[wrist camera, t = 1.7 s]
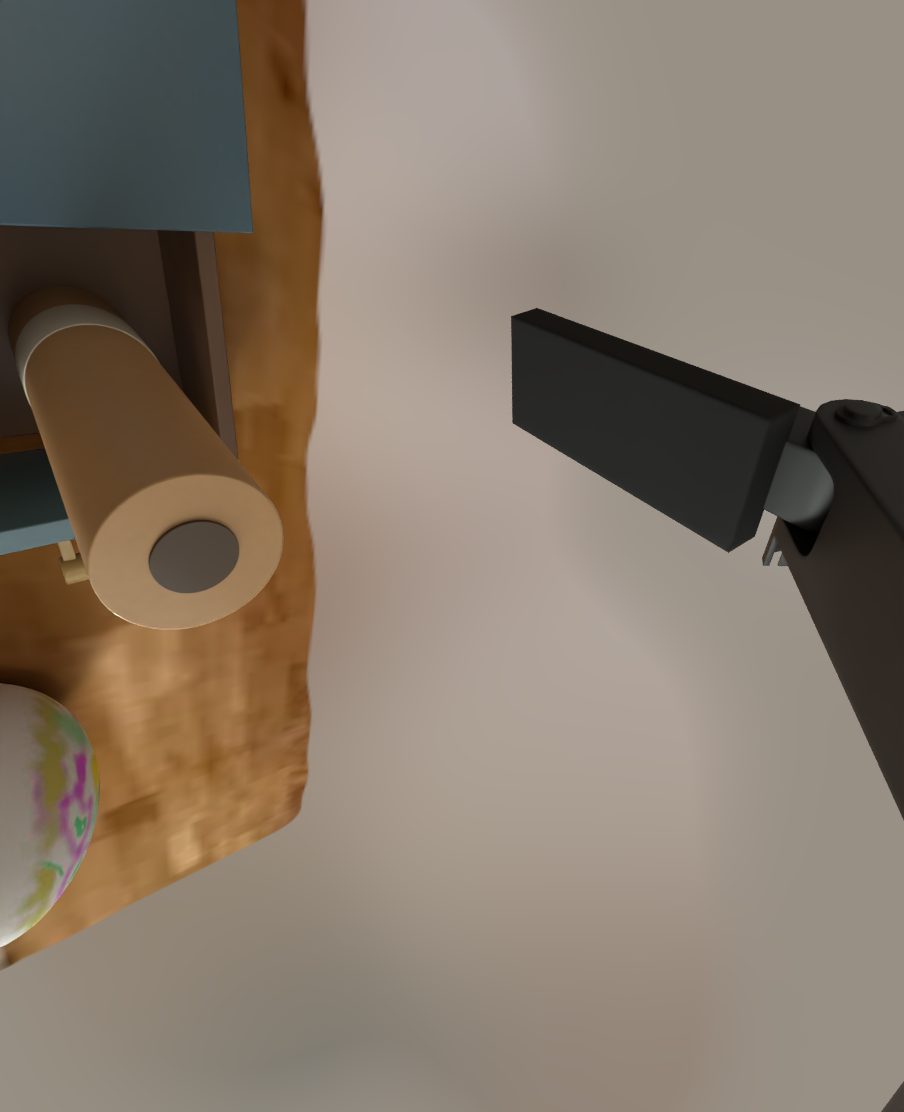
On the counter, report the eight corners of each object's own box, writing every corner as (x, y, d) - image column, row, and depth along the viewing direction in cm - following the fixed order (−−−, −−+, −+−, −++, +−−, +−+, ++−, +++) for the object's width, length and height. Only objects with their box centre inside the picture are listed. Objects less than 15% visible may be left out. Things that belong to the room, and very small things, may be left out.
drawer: (220, 501, 39) (263, 563, 34) (-3, 547, 33) (11, 632, 28) (174, 170, 28) (228, 192, 23) (-176, 140, 22) (-203, 163, 17)
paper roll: (81, 414, 30) (196, 658, 18) (-23, 335, 26) (33, 582, 14) (156, 347, 31) (319, 540, 18) (65, 259, 27) (197, 433, 14)
